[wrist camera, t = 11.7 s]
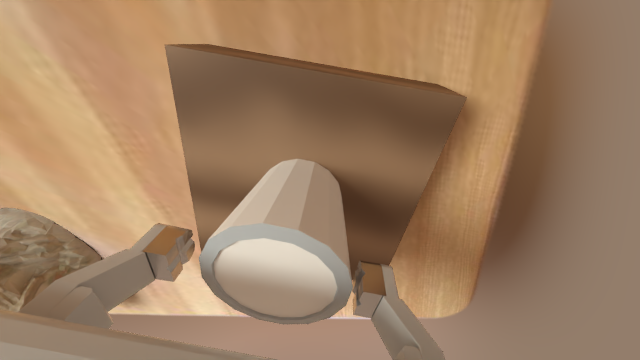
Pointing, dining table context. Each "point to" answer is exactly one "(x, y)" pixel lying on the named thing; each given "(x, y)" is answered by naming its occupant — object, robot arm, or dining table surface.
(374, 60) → the dining table surface
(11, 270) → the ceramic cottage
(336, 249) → the white cup
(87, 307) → the robot arm
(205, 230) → the walnut block
